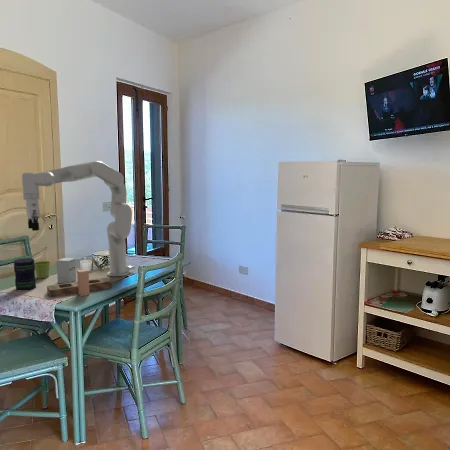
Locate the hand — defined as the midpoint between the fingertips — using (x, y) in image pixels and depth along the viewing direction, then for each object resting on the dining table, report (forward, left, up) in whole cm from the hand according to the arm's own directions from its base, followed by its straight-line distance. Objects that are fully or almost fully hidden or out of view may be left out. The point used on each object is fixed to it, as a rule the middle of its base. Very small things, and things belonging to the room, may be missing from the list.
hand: (33, 229), depth 216 cm
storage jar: (+6, +1, -31) cm, 31 cm away
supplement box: (-15, -1, -31) cm, 34 cm away
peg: (-17, +28, -31) cm, 45 cm away
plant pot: (-5, -18, -31) cm, 36 cm away
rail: (-17, +20, -31) cm, 41 cm away
